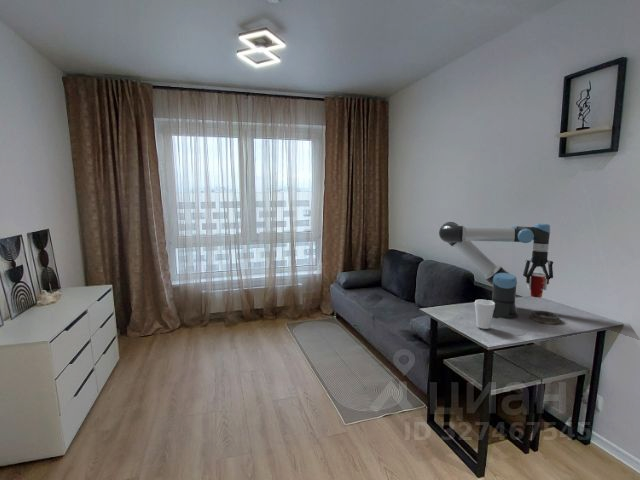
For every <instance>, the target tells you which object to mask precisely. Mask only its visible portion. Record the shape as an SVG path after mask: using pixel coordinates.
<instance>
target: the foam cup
mask: <svg viewBox="0 0 640 480" xmlns="http://www.w3.org/2000/svg"><path fill="white" fill-rule="evenodd" d="M494 308H495V303H494V302H492V300H489V299H488V300H487V299H475V301H474V309H475V310H474V311H475V321H476V327H478V328H480V329H485V330H489V329H490V328H491V325H492V321H493V311H494Z"/></svg>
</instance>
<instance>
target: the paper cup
mask: <svg viewBox="0 0 640 480" xmlns="http://www.w3.org/2000/svg"><path fill="white" fill-rule="evenodd" d="M545 276H546V275H545V273H544V272H543V271H542V272H541V271H533V273H532V275H531V277H530V278H531V288H530V296H531V297H533V298H542V297H543V292H544V289H543V287H544V281H545V278H546V277H545Z"/></svg>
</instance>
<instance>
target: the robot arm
mask: <svg viewBox="0 0 640 480" xmlns="http://www.w3.org/2000/svg"><path fill="white" fill-rule="evenodd" d="M550 234H551V225H550V224H548V223H535V224H534V226H522V225H521V226H513V225H512V226H511V227H510V228H505V227H504V228H502V227H500V228H499V227H465V226H464V225H459V224H458V223H456V222H454V221H447V222H445V223H443V224H442V226H441V227H440V228H439V231H438V235H439V237H440V240H442V241H443V242H444V243H447V244H448V245H450V246H451V247H452V248H456V249H457V250H458V251H460V253H461V254H462V255H464V256H465V257H466V258H467V259H468V260H469V261H470V262H471V264H473V265H474V266H475V267H476V268H477V269H478V270H479V271H480V272H481V273H482V274H483V275H484V279H485V280H486V281H487V282H488V283H489V284H490V285H491V286H492V296H491V297H492V299H491V301H492V302H494V303H495V308H494V311H493V316H492V318H495V319H499V318H500V319H506V320H507V319H510V320H511V319H512V320H513V319H516V318H518V314H519V313H518V309H517V305H516V295H517V284H518V281H517V277H516V276H515V275H513V274H511V273H509V272H508V271H507V270H505V269H504V268H503V267H502V266H501V265H496V264H495V263H494V262H493V261H492V260H491V259H490V258H489V257H488V256H487V255H485V253H483V252H482V251H481V249H479V248H478V247H477V246H476V245H475V244H474V243H473V242H503V243H504V242H505V243H506V242H507V243H508V242H509V243H511V242H512V243H514V242H515V243H523V244H529V243H531V242H532V241H533V242H532V253H531V258H530V259H525V266H524V269H523V275H522V276H523V277H524V278H526V279H525V282H526V284H527V289H528V290H531V275H532V273H533V272H535V270H536V268H539V267H540V268H541V269H542V272H543V273H545V275H546V276H545V281H544V287H543V291H547V287H548V285H549V284H550V279H553V278H554V272H553V271H554V269H553V266H554V265H553V264H554V261H553V260H549V259H548V255H549V246H550V245H549V244H550ZM531 263H532V264H531ZM530 264H531V267H530ZM546 264H547V266H548V267H547V266H546ZM547 268H548V270H547Z"/></svg>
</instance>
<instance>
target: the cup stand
mask: <svg viewBox="0 0 640 480" xmlns="http://www.w3.org/2000/svg"><path fill="white" fill-rule="evenodd" d="M531 312H532V313H531V314H530V315H529V318H530V319H531V320H532V321H534V322H537V323H541V324H545V325H553V326H554V325H555V326H556V325H559V324H561V321H562V320H561V319H560V315H559V314H557V313H555V312H551V311H546V310H533V311H531Z"/></svg>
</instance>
